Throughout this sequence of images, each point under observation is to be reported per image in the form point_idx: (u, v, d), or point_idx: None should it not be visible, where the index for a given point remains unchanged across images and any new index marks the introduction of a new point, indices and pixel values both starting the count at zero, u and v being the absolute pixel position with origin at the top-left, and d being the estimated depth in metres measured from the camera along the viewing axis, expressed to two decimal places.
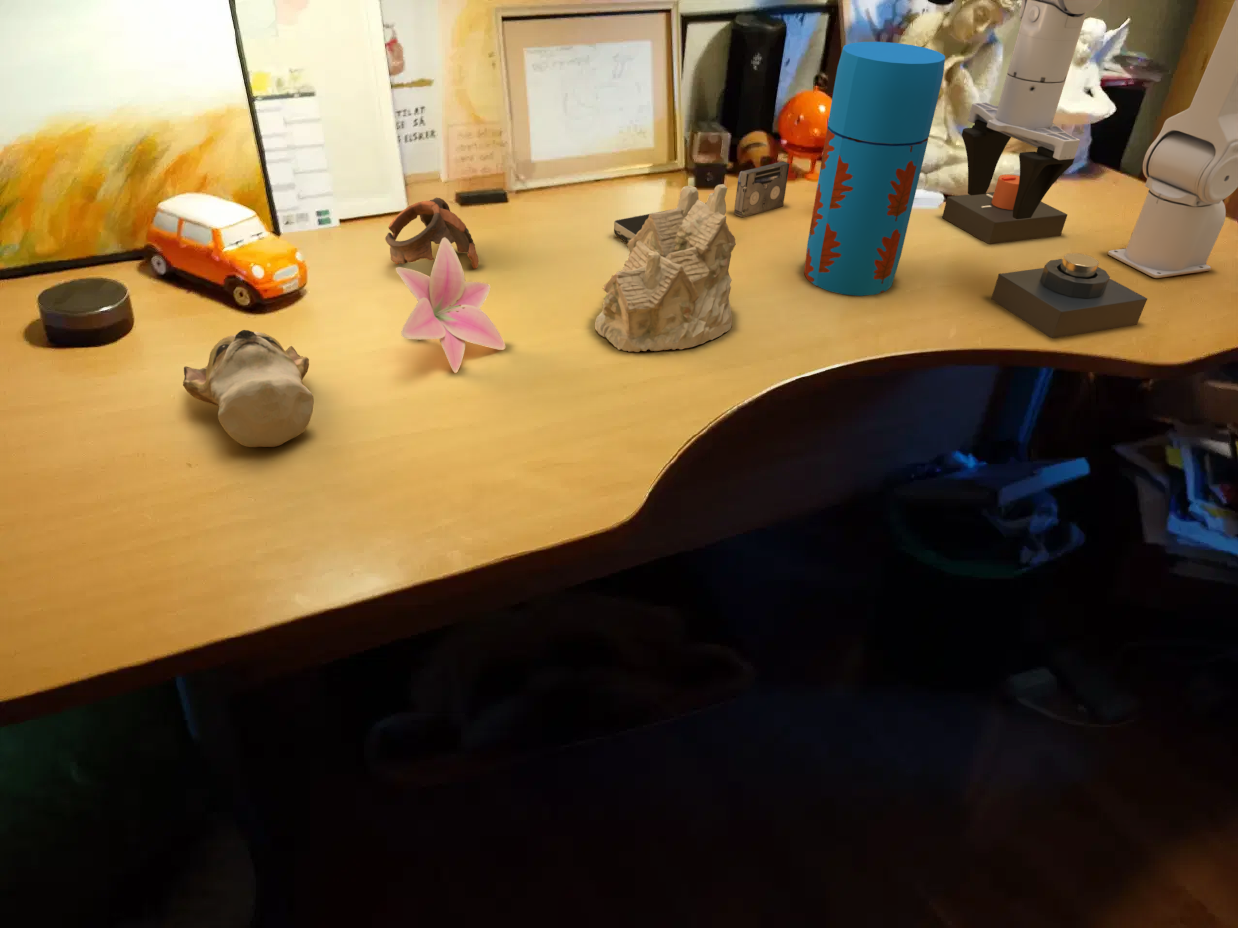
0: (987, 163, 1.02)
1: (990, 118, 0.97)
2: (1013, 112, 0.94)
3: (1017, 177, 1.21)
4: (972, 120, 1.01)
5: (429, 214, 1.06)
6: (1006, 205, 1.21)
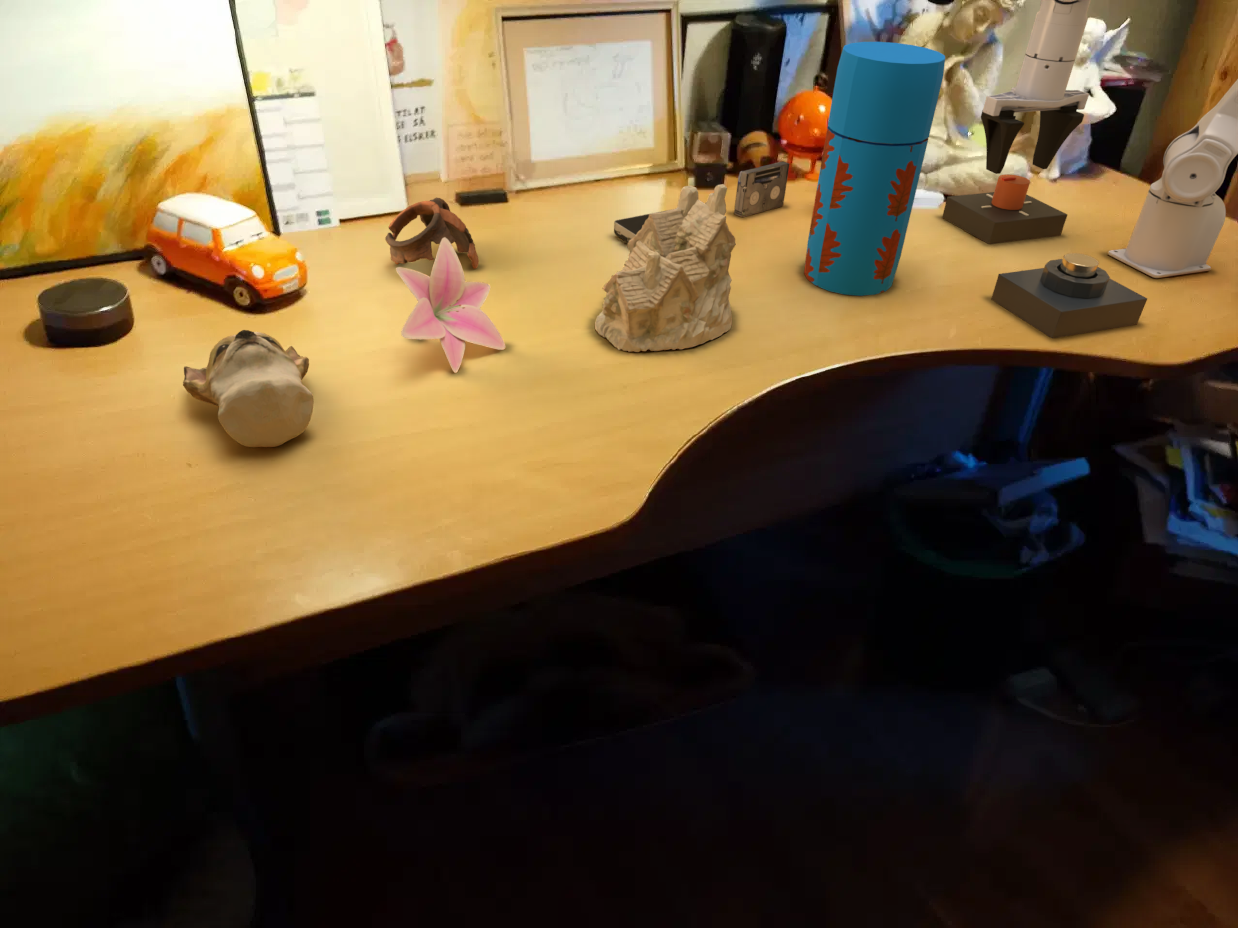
0: (1048, 140, 1.16)
1: None
2: None
3: (1017, 177, 1.21)
4: None
5: (429, 214, 1.06)
6: (1006, 205, 1.21)
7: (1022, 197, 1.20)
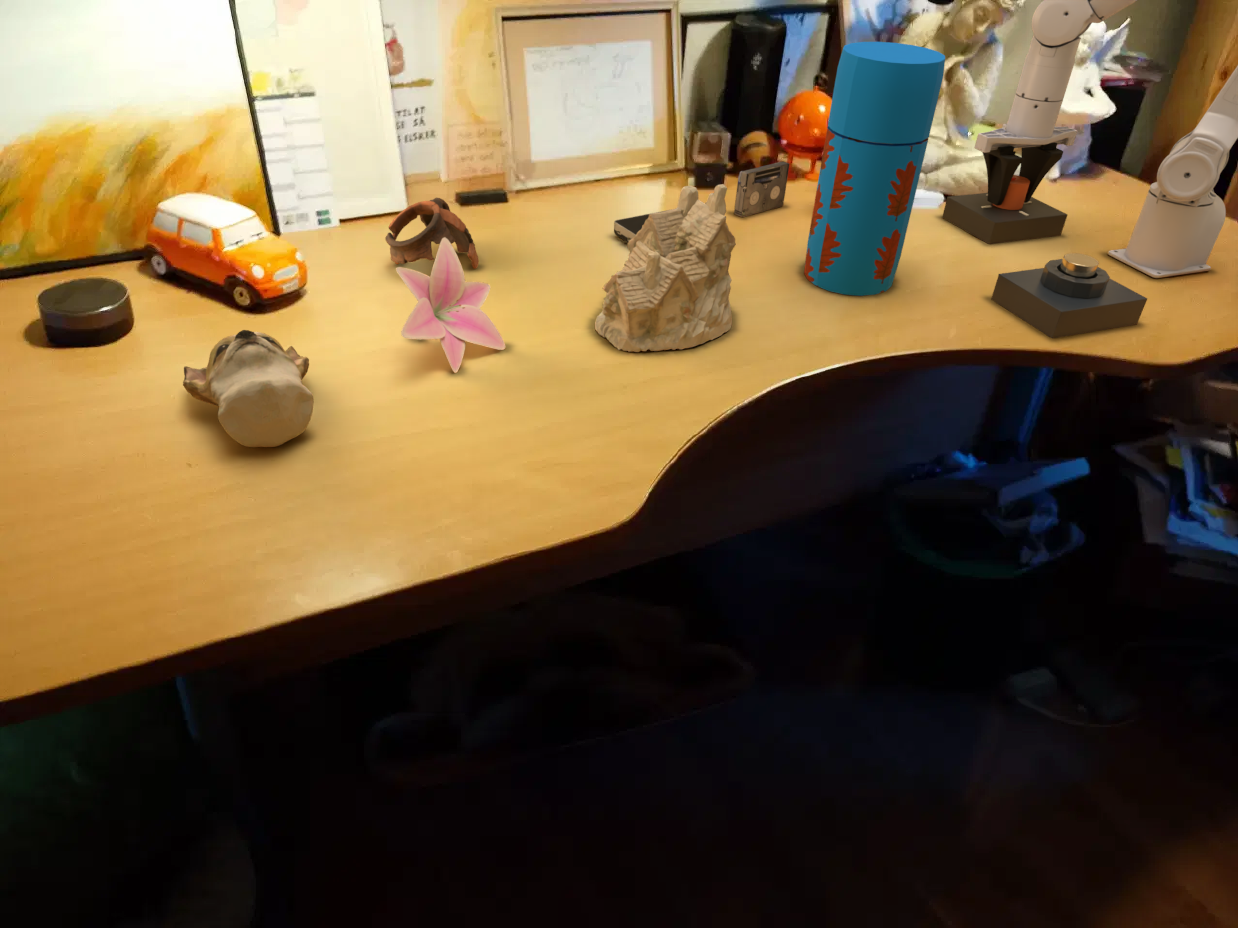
0: (1029, 175, 1.21)
1: None
2: None
3: (1017, 177, 1.21)
4: None
5: (429, 214, 1.06)
6: (1006, 205, 1.21)
7: (1022, 197, 1.20)
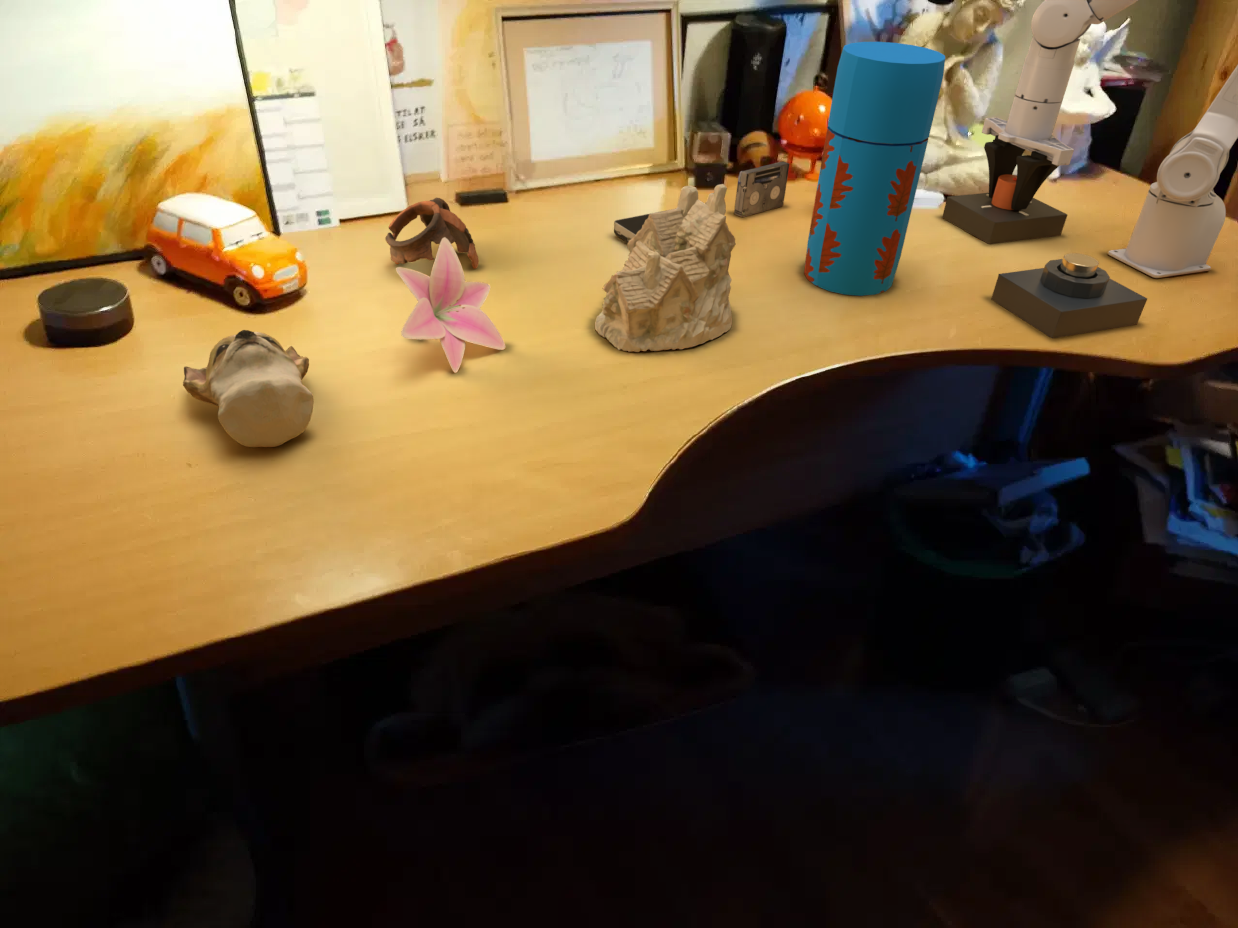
0: (1005, 171, 1.22)
1: (1000, 131, 1.18)
2: (1019, 126, 1.15)
3: (1006, 177, 1.21)
4: (985, 132, 1.23)
5: (429, 214, 1.06)
6: None
7: None
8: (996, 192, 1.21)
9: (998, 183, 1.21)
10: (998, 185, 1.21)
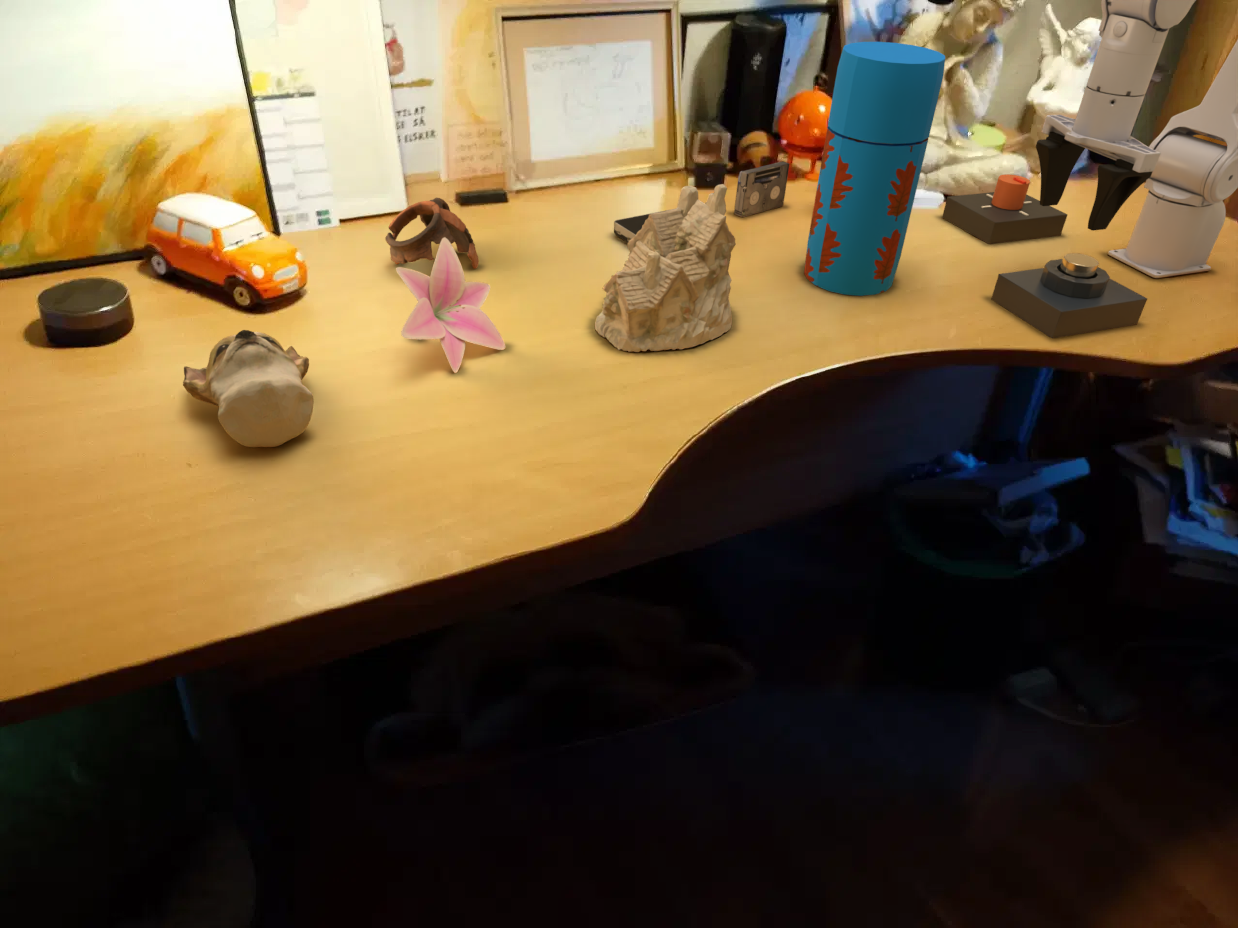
0: (1060, 174, 1.03)
1: (1067, 130, 0.98)
2: (1092, 125, 0.95)
3: (1006, 177, 1.21)
4: (1046, 132, 1.02)
5: (429, 214, 1.06)
6: (1023, 203, 1.22)
7: None
8: (996, 192, 1.21)
9: (998, 183, 1.21)
10: (998, 185, 1.21)
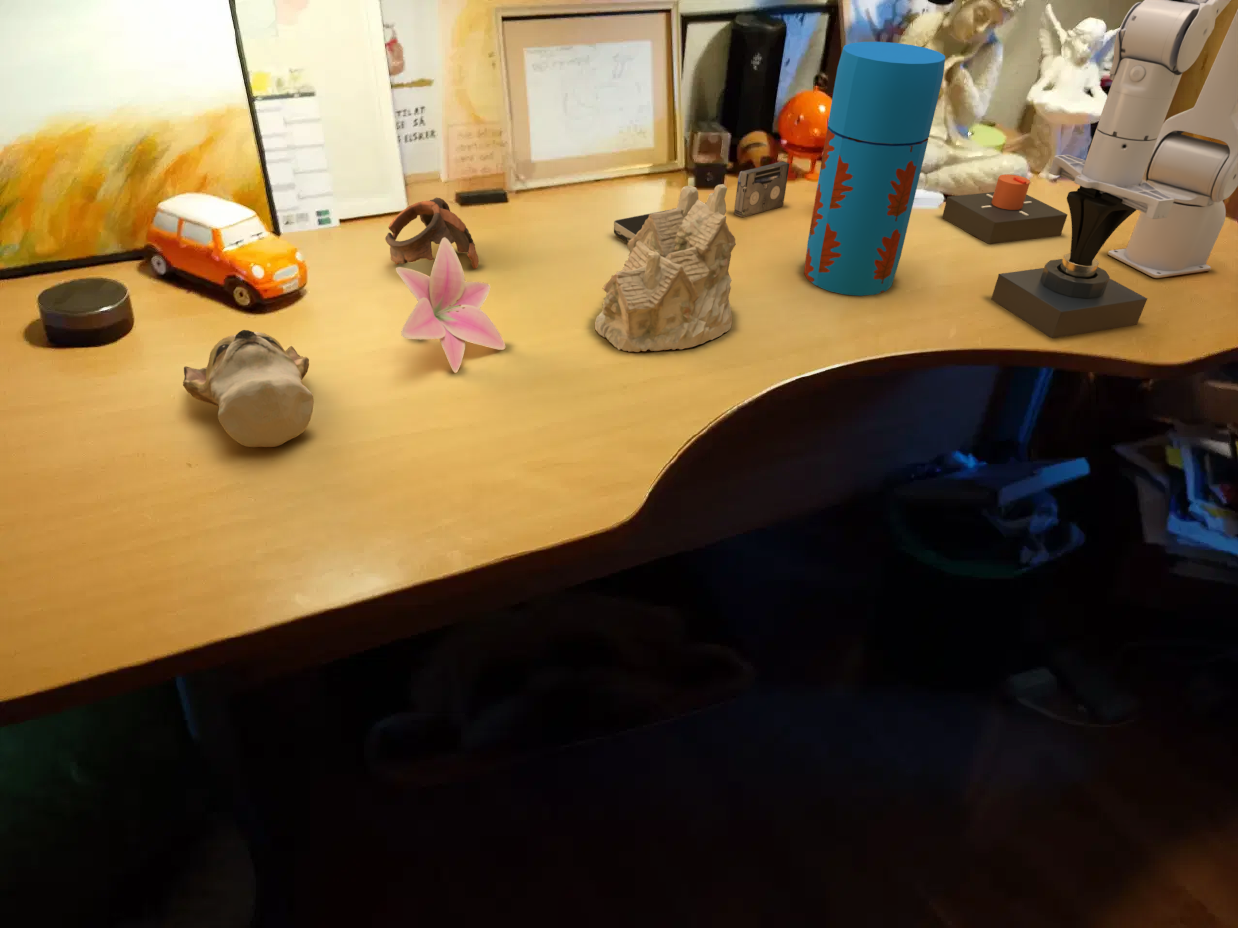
0: None
1: (1076, 173, 0.95)
2: (1103, 169, 0.92)
3: (1006, 177, 1.21)
4: (1054, 173, 0.99)
5: (429, 214, 1.06)
6: (1023, 203, 1.22)
7: None
8: (996, 192, 1.21)
9: (998, 183, 1.21)
10: (998, 185, 1.21)
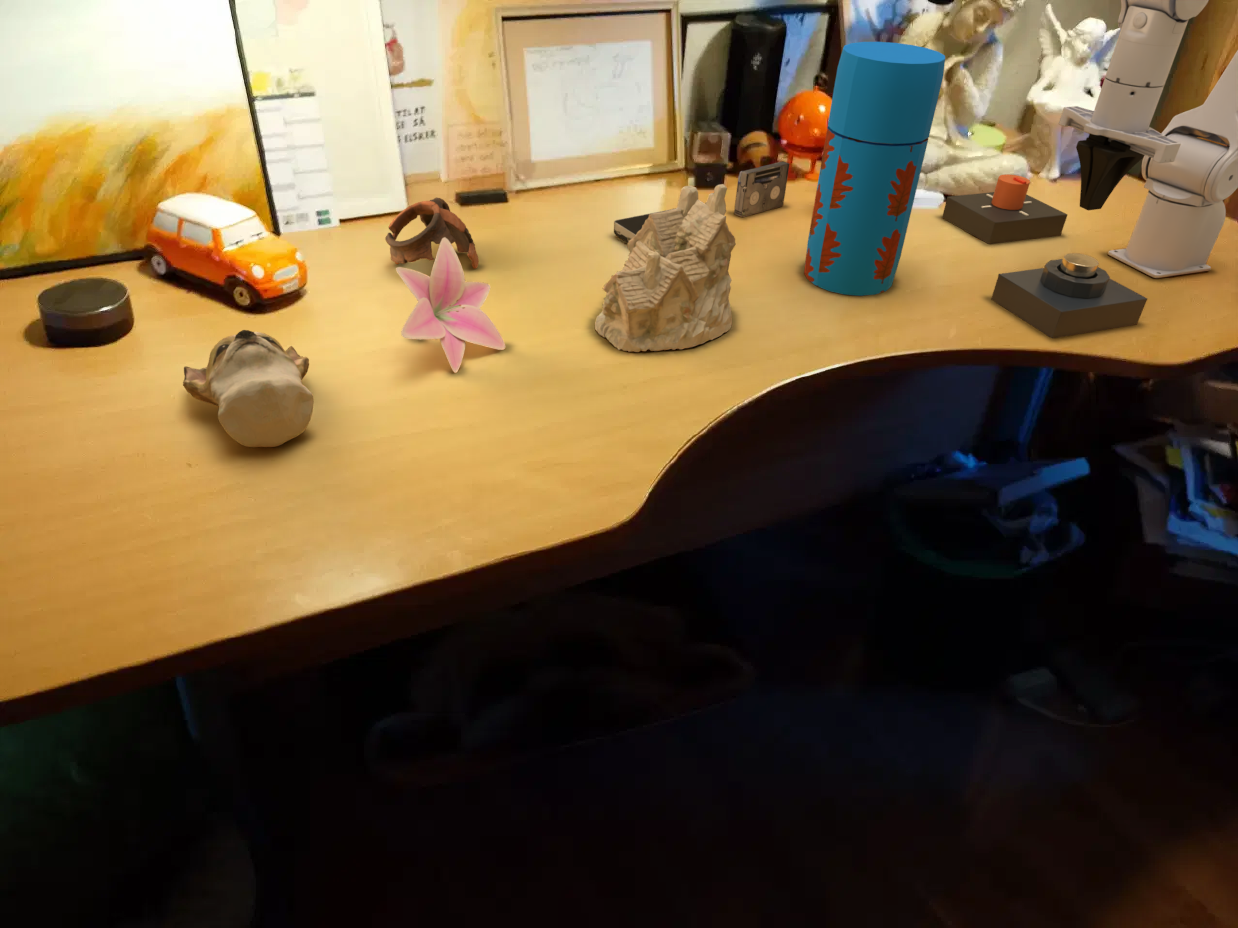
0: None
1: (1086, 122, 0.98)
2: (1112, 116, 0.95)
3: (1006, 177, 1.21)
4: (1063, 124, 1.03)
5: (429, 214, 1.06)
6: (1023, 203, 1.22)
7: None
8: (996, 192, 1.21)
9: (998, 183, 1.21)
10: (998, 185, 1.21)
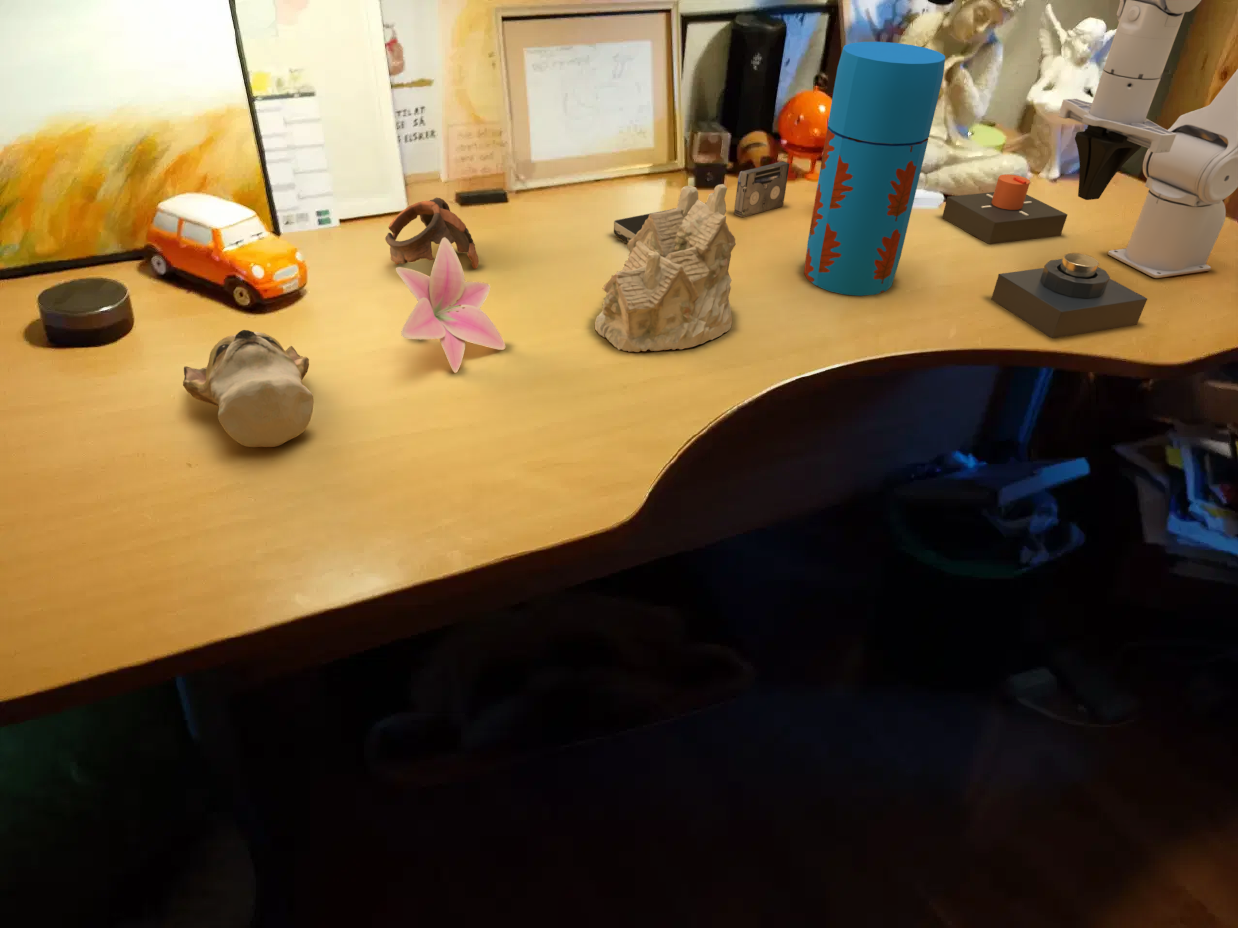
0: None
1: (1084, 113, 1.01)
2: (1109, 107, 0.98)
3: (1006, 177, 1.21)
4: (1063, 115, 1.05)
5: (429, 214, 1.06)
6: (1023, 203, 1.22)
7: None
8: (996, 192, 1.21)
9: (998, 183, 1.21)
10: (998, 185, 1.21)
